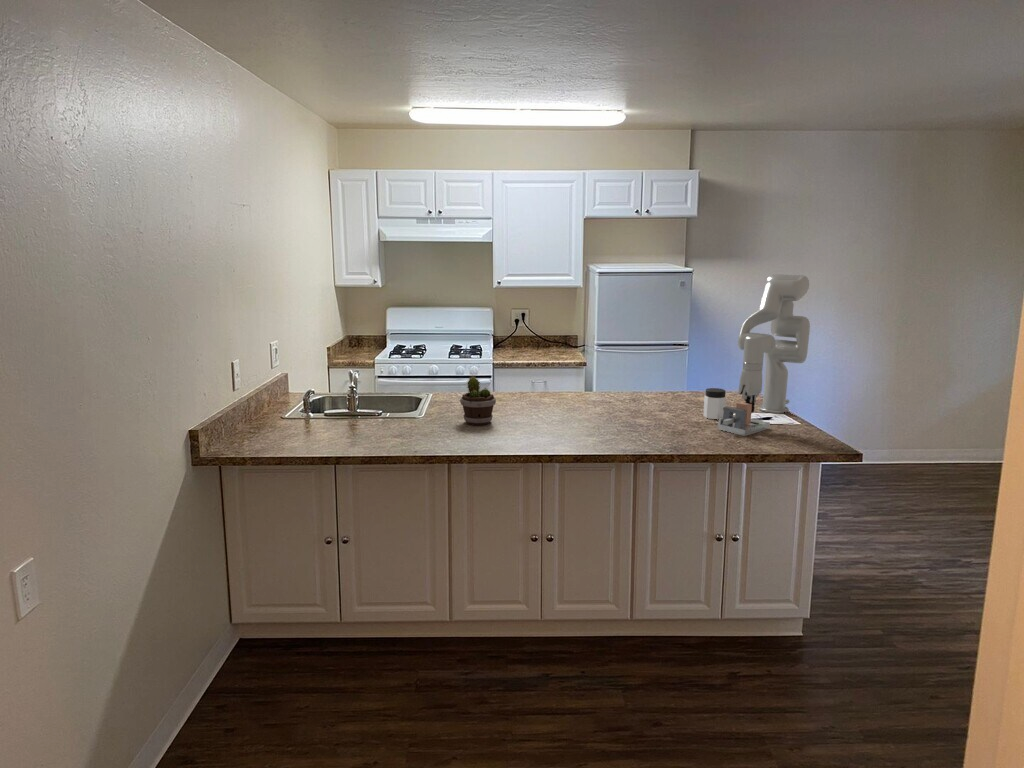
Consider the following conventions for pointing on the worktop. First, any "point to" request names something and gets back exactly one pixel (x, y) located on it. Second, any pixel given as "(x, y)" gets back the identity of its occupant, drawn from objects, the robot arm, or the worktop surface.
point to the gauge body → (740, 422)
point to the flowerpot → (477, 404)
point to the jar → (714, 403)
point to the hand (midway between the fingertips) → (749, 411)
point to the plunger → (747, 417)
